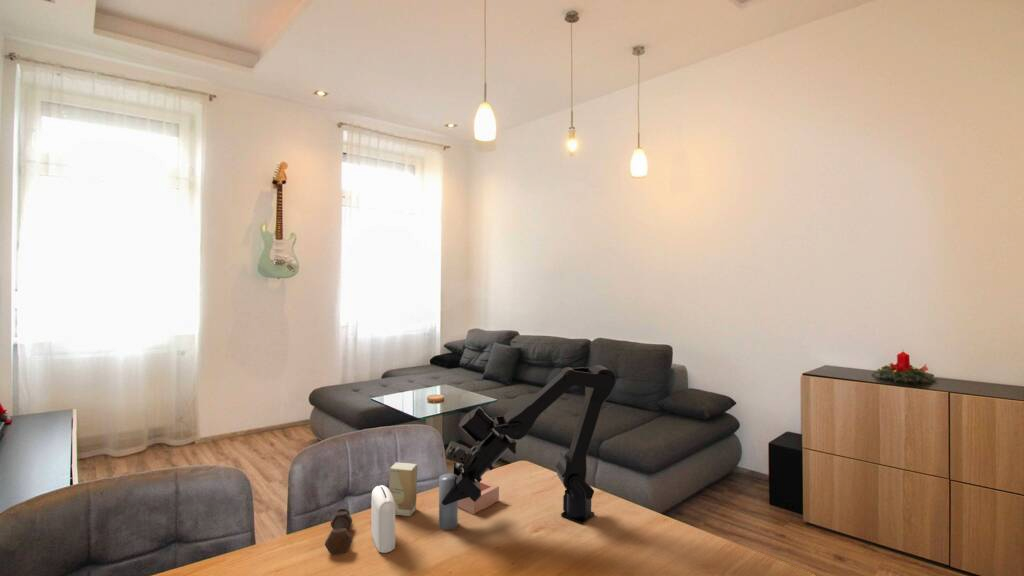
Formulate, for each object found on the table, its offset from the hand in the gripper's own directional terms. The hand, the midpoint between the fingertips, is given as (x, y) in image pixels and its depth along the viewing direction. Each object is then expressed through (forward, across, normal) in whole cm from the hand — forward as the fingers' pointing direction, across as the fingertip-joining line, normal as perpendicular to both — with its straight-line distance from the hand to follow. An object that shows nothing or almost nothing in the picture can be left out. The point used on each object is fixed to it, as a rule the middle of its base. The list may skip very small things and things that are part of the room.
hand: (442, 499), depth 121 cm
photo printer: (+15, +6, -5) cm, 16 cm away
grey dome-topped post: (+4, 0, +6) cm, 7 cm away
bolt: (+22, +2, -12) cm, 25 cm away
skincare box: (+12, -8, -2) cm, 15 cm away
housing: (-1, -12, +11) cm, 16 cm away
